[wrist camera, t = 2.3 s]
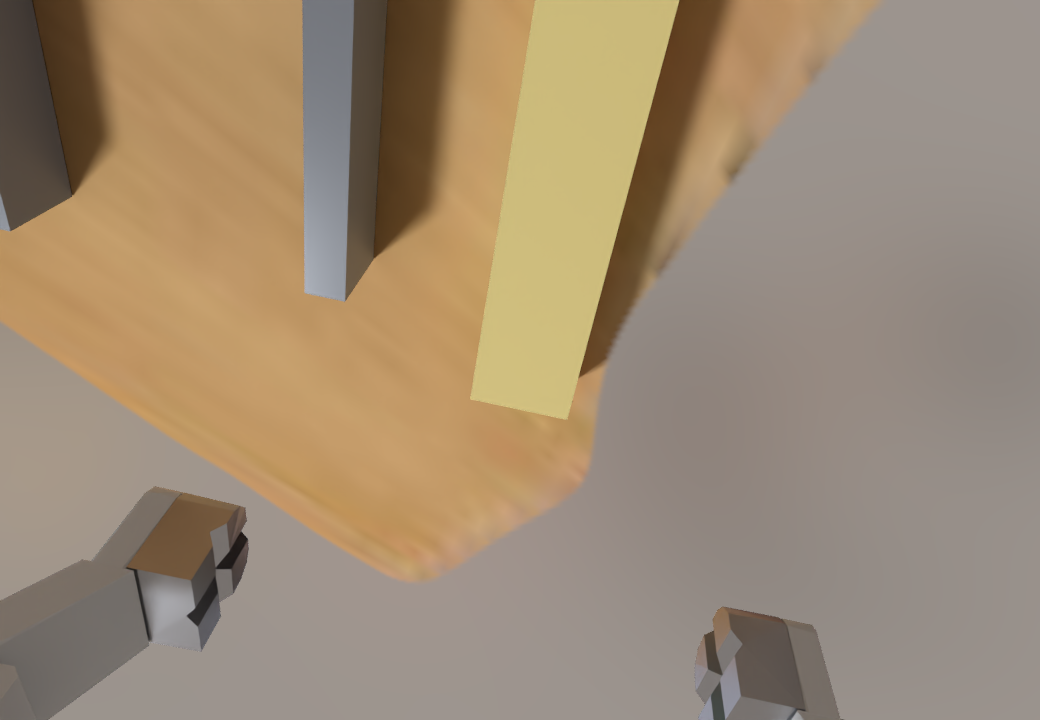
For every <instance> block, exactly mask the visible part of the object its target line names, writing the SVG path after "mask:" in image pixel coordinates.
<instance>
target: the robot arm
mask: <svg viewBox="0 0 1040 720" xmlns="http://www.w3.org/2000/svg"><path fill="white" fill-rule="evenodd" d="M246 522H247V518H246V510H245V507H241V506H238V505H234V504H229V503H225V502H221V501H217V500H213V499H209V498H204V497H200V496H196V495H192V494H187V493H183V492H178V491H174V490H169V489H165V488H160V487H156V486H155V487H153V488H152V489H150V490H149V491H147V492H146V493H145V494H144V495H143V496H142V498H141V499H140V500H139V501H138V503H137V504H136V505H135V506H134V508H133V509H132V510H131V511H130V513H129V514H128V515H127V517H126V518H125V519H124V520H123V522H122V523H121V524H120V525H119V527H118V528H117V529H116V530H115V532H114V533H113V534H112V536H111V537H110V538H109V539H108V541H107V542H106V543H105V544H104V546H103V547H102V548H101V549H100V551H99V552H98V553H97V554H96V556H95V557H94V558H93V559H92V561H88V560H80V561H78V562H77V563H74V564H72V565H70V566H68V567H66V568H64V569H62V570H60V571H58V572H56V573H54V574H52V575H50V576H48V577H46V578H45V579H42V580H40V581H39V582H36V583H35V584H32V585H30V586H28V587H26V588H24V589H22V590H20V591H18V592H16V593H14V594H12V595H11V596H8V597H7V598H4V599H3V600H1V601H0V720H48V719H50V718H51V717H52V716H54V715H55V714H56V713H58V712H59V711H61V710H62V709H63V708H65V707H66V706H67V705H69V704H70V703H71V702H73V701H74V700H76V699H77V698H78V697H80V696H81V695H82V694H84V693H85V692H86V691H88V690H89V689H91V688H92V687H93V686H95V685H96V684H97V683H99V682H100V681H102V680H103V679H104V678H106V677H107V676H108V675H110V674H111V673H112V672H114V671H115V670H116V669H118V668H119V667H121V666H122V665H123V664H125V663H126V662H127V661H129V660H130V659H131V658H133V657H134V656H136V655H137V654H138V653H139V652H141V651H142V650H144V649H145V648H146V647H148V646H149V642H152V643H157V644H162V645H168V646H173V647H179V648H184V649H190V650H195V651H202V649H203V647H204V646H205V644H206V642H207V640H208V639H209V637H210V635H211V633H212V631H213V629H214V628H215V626H216V624H217V622H218V621H219V619H220V617H221V614H220V605H219V602H221V601H222V600H224V599H226V598H227V597H229V596H230V595H232V594H233V593H234V591H235V589H236V588H237V586H238V584H239V582H240V580H241V578H242V575H243V572H244V569H245V566H246V563H247V557H248V550H249V547H248V538H247V537H246V536H245V535H244V534H243V533H242V532H241V530H242V529H243V527H244V525H245V523H246ZM713 627H714V631H712V632H710V633H708V634H706V635H704V636H703V639H702V641H701V643H700V645H699V647H698V651H697V657H696V661H695V687H696V692H697V694H698V695H699V696H700V698H701V699H702V701H703V702H704V704H705V706H704V708H703V710H702V711H701V713H700V715H699V717H698V719H699V720H843V719H840V716H839V713H838V708H837V705H836V701H835V698H834V694H833V690H832V686H831V683H830V679H829V676H828V672H827V669H826V665H825V661H824V658H823V654H822V650H821V646H820V643H819V639H818V636H817V632H816V630H815V629H814V627H813V626H812V625H810V624H805V623H800V622H795V621H791V620H786V619H780V618H779V617H775V616H769V615H764V614H759V613H754V612H749V611H743V610H738V609H733V608H728V607H721V608H720V609H718V610H717V612H716V614H715V616H714V618H713Z"/></svg>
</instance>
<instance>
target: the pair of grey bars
mask: <svg viewBox="0 0 1040 720" xmlns="http://www.w3.org/2000/svg"><path fill="white" fill-rule="evenodd" d="M386 17H387V0H303V126H304V257H305V293H307V294H311V295H316V296H321V297H326V298H330V299H335V300H340V301H346V299H347V298H348V296H349V295H350V294H351V292H352V291H353V289H354V288H355V286H356V285H357V283H358V282H359V280H360V279H361V277H362V276H363V274H364V273H365V271H366V270H367V268H368V267H369V265H370V264H371V262H372V261H373V257H374V238H375V220H376V201H377V183H378V165H379V146H380V128H381V109H382V91H383V72H384V54H385V35H386ZM70 197H72V193H71V189H70V184H69V179H68V174H67V169H66V164H65V159H64V154H63V149H62V145H61V140H60V135H59V130H58V125H57V120H56V115H55V110H54V105H53V101H52V96H51V91H50V86H49V81H48V76H47V71H46V66H45V62H44V57H43V52H42V47H41V42H40V37H39V32H38V27H37V22H36V18H35V13H34V8H33V3H32V0H0V229H2V230H7V231H12V230H14V229H15V228H17V227H19V226H21V225H22V224H24V223H26V222H28V221H30V220H31V219H33V218H35V217H37V216H38V215H40V214H42V213H44V212H46V211H47V210H49V209H51V208H53V207H54V206H56V205H58V204H60V203H61V202H63V201H65V200H67V199H69V198H70Z"/></svg>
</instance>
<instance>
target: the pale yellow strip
mask: <svg viewBox="0 0 1040 720" xmlns="http://www.w3.org/2000/svg"><path fill="white" fill-rule="evenodd" d="M678 4H679V0H535V5H534V11H533V17H532V23H531V29H530V36H529V42H528V48H527V54H526V60H525V66H524V72H523V78H522V85H521V91H520V97H519V103H518V109H517V115H516V121H515V128H514V134H513V140H512V146H511V152H510V158H509V164H508V171H507V177H506V183H505V189H504V195H503V201H502V207H501V214H500V220H499V226H498V232H497V238H496V244H495V250H494V257H493V263H492V269H491V275H490V281H489V287H488V293H487V299H486V306H485V312H484V318H483V324H482V330H481V336H480V342H479V349H478V355H477V361H476V367H475V373H474V379H473V385H472V392H471V398H470V399H472V400H477V401H481V402H486V403H491V404H495V405H500V406H505V407H509V408H514V409H519V410H523V411H528V412H533V413H537V414H542V415H547V416H551V417H556V418H561V419H565V420H567V418H568V414H569V411H570V407H571V403H572V399H573V396H574V392H575V388H576V384H577V381H578V377H579V373H580V369H581V366H582V362H583V358H584V355H585V351H586V347H587V343H588V340H589V336H590V332H591V328H592V325H593V321H594V317H595V313H596V310H597V306H598V302H599V299H600V295H601V291H602V287H603V284H604V280H605V276H606V272H607V269H608V265H609V261H610V257H611V254H612V250H613V246H614V243H615V239H616V235H617V231H618V228H619V224H620V220H621V216H622V213H623V209H624V205H625V201H626V198H627V194H628V190H629V187H630V183H631V179H632V175H633V172H634V168H635V164H636V160H637V157H638V153H639V149H640V145H641V142H642V138H643V134H644V131H645V127H646V123H647V119H648V116H649V112H650V108H651V104H652V101H653V97H654V93H655V89H656V86H657V82H658V78H659V75H660V71H661V67H662V63H663V60H664V56H665V52H666V48H667V45H668V41H669V37H670V33H671V30H672V26H673V22H674V19H675V15H676V11H677V7H678Z"/></svg>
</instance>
